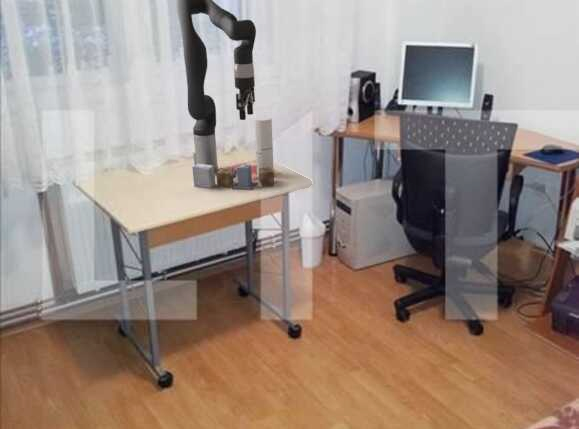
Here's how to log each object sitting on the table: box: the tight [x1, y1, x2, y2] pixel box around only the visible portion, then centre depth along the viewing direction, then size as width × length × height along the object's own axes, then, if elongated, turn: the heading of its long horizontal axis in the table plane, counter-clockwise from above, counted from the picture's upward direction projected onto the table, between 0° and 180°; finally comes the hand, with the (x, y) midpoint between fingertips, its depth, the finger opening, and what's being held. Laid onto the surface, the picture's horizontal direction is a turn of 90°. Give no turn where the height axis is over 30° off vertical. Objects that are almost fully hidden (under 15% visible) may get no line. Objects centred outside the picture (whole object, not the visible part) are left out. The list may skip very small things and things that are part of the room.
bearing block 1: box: [215, 167, 237, 188], centre depth 264 cm, size 7×6×6 cm
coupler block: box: [236, 163, 253, 187], centre depth 262 cm, size 4×4×8 cm
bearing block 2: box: [258, 167, 275, 188], centre depth 264 cm, size 6×6×6 cm
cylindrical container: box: [253, 115, 275, 178], centre depth 270 cm, size 7×7×25 cm
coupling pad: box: [232, 181, 258, 191], centre depth 264 cm, size 8×8×1 cm
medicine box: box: [191, 164, 217, 189], centre depth 264 cm, size 8×4×9 cm, turn 65°
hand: (246, 117), depth 250 cm, fingers open, 8 cm apart
